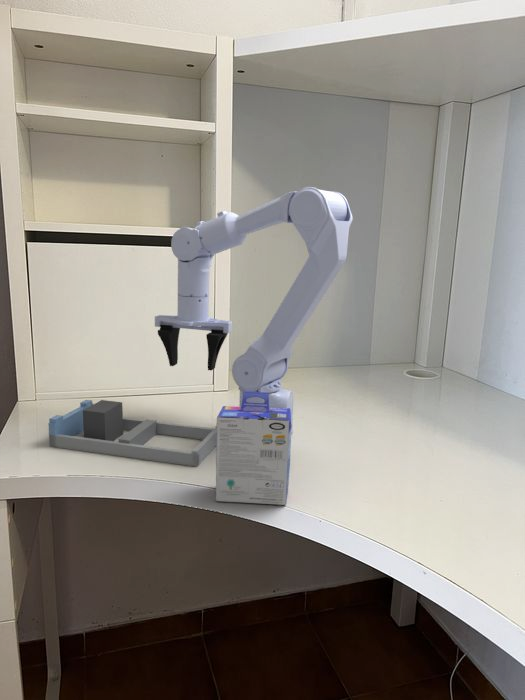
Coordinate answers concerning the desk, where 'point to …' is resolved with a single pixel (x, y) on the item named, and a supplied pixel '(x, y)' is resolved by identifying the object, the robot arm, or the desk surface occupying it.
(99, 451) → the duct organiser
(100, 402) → the dark grey block
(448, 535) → the desk surface
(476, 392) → the desk surface
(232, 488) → the ink cartridge box
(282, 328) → the robot arm
